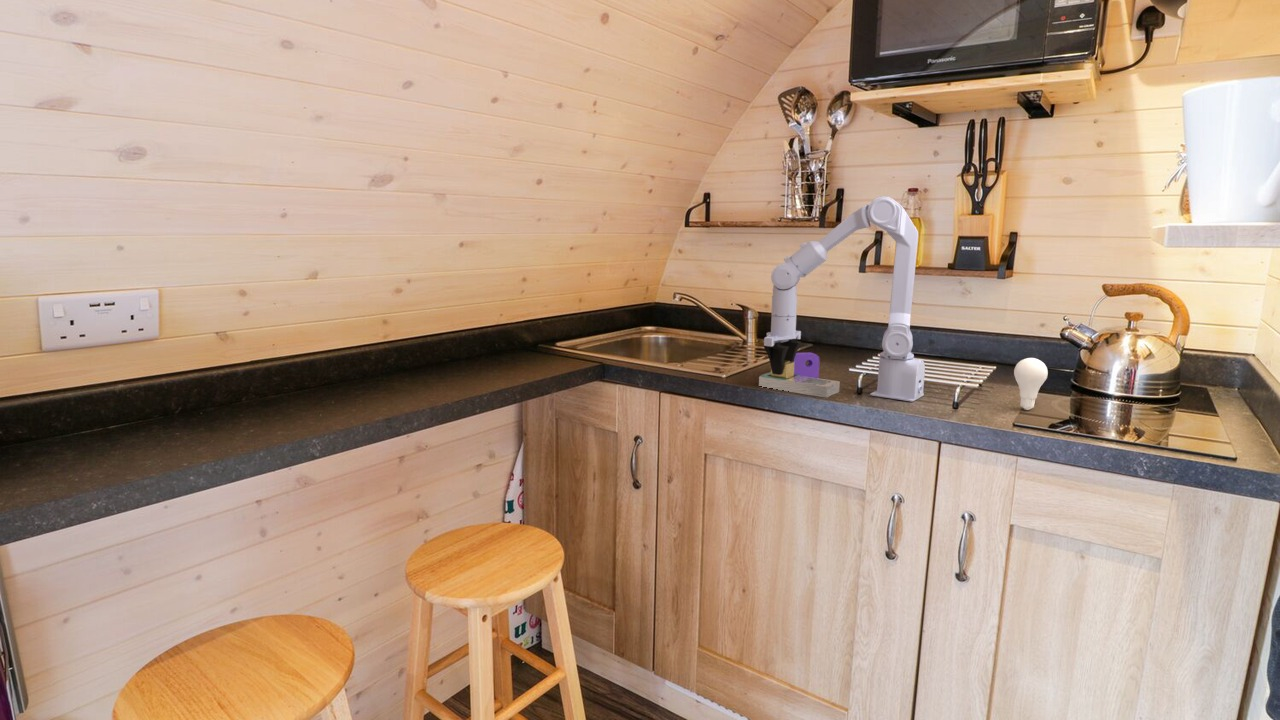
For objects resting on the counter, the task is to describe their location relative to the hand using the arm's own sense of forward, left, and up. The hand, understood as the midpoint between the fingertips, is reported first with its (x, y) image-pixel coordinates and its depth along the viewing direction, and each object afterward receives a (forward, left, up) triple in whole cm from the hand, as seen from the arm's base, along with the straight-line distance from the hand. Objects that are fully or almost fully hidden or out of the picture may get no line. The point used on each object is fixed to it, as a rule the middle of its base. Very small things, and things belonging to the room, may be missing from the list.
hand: (781, 372), depth 168 cm
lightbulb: (-50, -13, -4) cm, 52 cm away
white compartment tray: (-5, 0, -3) cm, 6 cm away
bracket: (+3, -15, -4) cm, 16 cm away
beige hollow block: (0, 0, -3) cm, 4 cm away
